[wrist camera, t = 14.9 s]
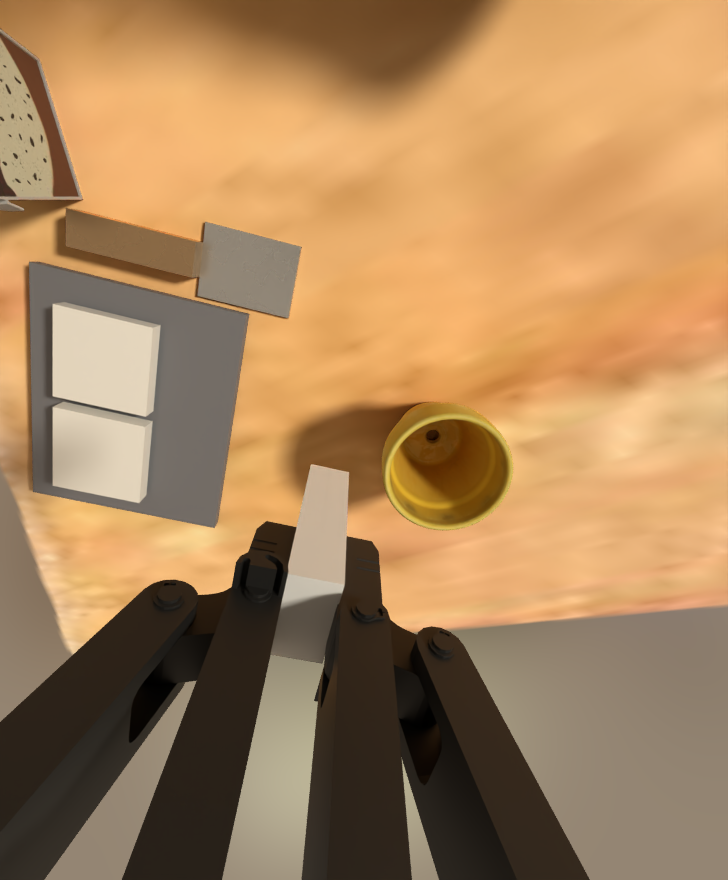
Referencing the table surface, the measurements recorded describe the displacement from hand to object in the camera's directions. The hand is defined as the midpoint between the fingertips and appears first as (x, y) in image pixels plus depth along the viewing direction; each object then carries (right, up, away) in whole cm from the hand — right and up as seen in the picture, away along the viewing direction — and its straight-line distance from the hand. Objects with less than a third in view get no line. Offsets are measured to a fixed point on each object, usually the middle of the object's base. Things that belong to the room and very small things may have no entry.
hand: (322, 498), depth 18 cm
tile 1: (-17, +8, +23) cm, 29 cm away
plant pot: (+8, +3, +28) cm, 29 cm away
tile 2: (-19, 0, +26) cm, 32 cm away
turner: (-13, +18, +21) cm, 31 cm away
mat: (-20, +6, +26) cm, 33 cm away
